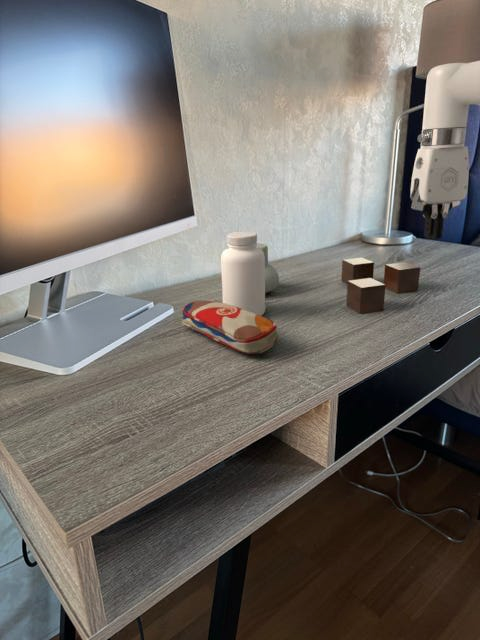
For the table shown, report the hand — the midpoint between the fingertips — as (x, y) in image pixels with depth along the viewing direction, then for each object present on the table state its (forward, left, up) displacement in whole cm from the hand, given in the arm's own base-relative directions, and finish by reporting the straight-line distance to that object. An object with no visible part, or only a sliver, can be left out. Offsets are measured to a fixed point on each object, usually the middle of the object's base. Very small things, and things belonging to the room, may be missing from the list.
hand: (432, 237), depth 90 cm
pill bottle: (+40, -1, -11) cm, 41 cm away
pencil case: (+46, +9, -11) cm, 48 cm away
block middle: (+5, -2, -11) cm, 12 cm away
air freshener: (+34, -13, -11) cm, 38 cm away
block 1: (+11, -10, -11) cm, 18 cm away
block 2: (+18, +5, -11) cm, 22 cm away
